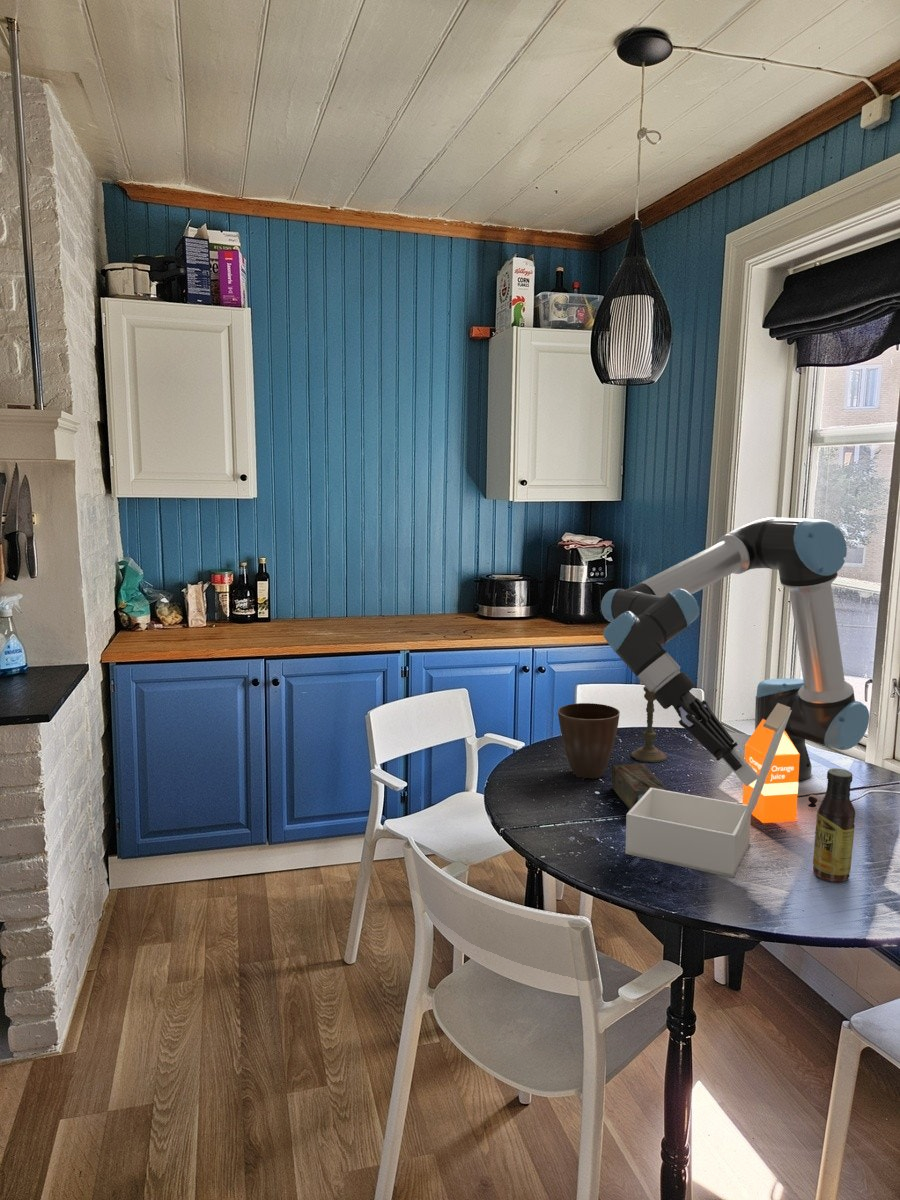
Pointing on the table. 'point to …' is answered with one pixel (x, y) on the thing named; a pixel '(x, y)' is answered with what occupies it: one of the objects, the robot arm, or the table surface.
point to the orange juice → (773, 777)
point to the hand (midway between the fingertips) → (752, 781)
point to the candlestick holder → (649, 736)
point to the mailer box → (688, 831)
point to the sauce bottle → (835, 829)
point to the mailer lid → (767, 757)
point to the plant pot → (588, 736)
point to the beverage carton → (633, 782)
